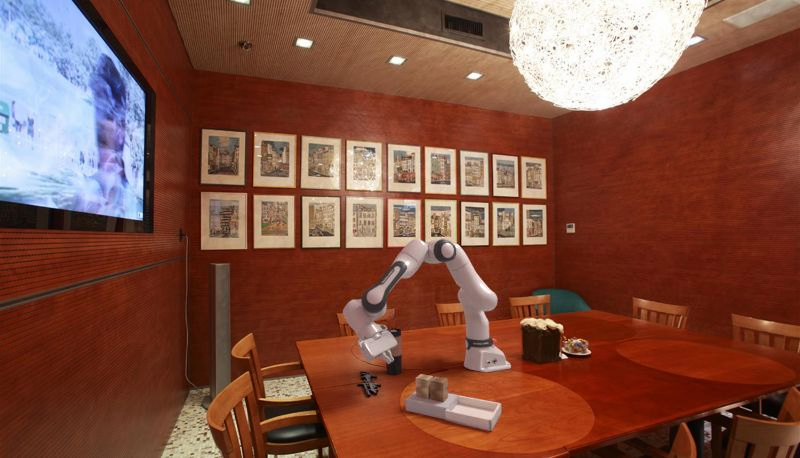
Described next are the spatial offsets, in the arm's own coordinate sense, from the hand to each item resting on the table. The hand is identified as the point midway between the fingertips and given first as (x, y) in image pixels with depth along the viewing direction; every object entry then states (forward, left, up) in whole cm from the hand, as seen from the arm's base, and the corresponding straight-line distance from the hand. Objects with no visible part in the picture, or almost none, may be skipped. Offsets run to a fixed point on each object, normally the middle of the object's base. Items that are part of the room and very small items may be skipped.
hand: (391, 362), depth 147 cm
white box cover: (-14, +10, -15) cm, 23 cm away
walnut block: (-16, +12, -11) cm, 23 cm away
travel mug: (-5, -30, -15) cm, 33 cm away
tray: (-27, +20, -15) cm, 36 cm away
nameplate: (+8, -17, -15) cm, 25 cm away
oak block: (-11, +9, -11) cm, 18 cm away
